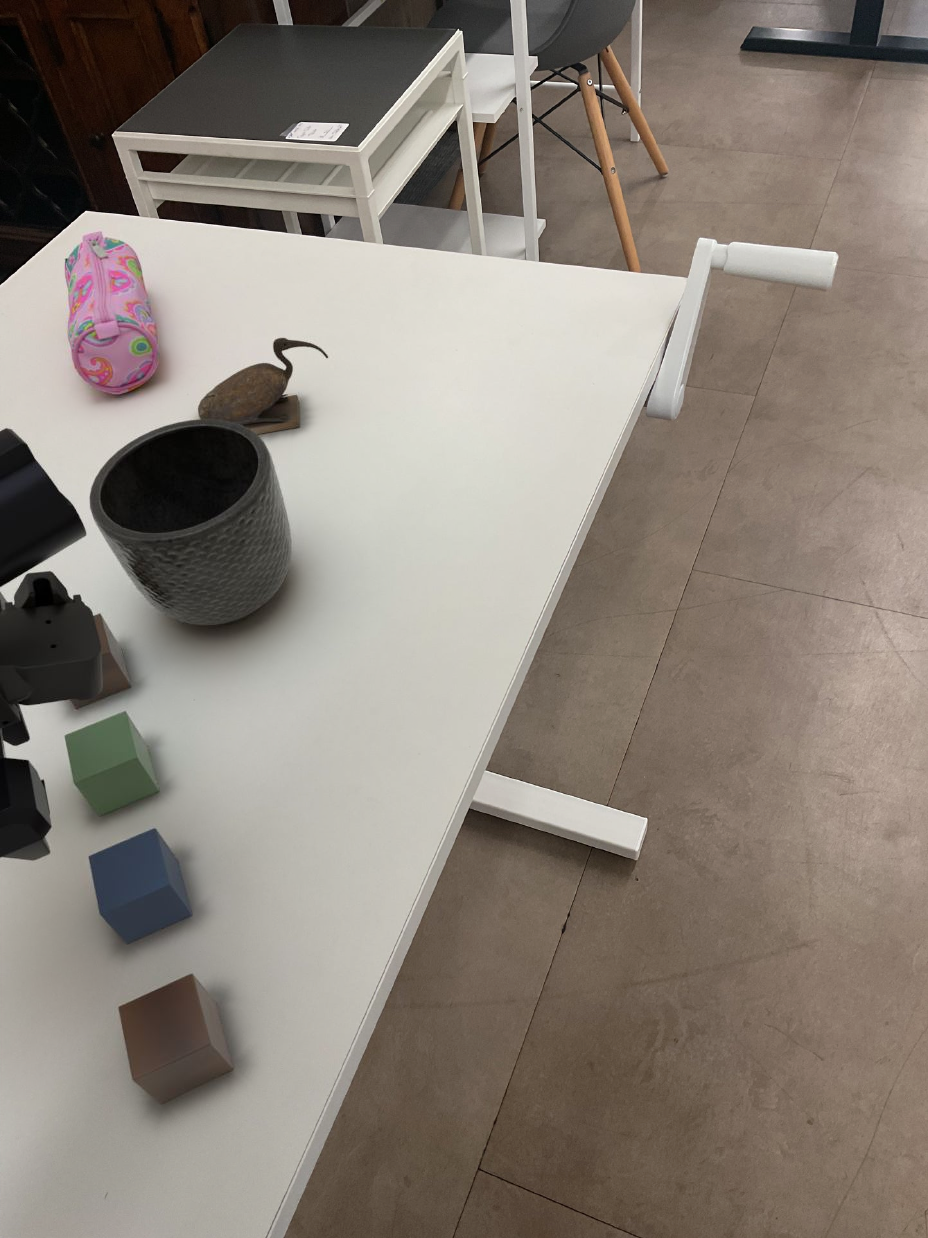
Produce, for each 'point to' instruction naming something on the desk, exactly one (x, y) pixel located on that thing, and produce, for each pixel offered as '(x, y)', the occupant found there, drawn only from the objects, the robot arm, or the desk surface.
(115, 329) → the pencil case
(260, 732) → the desk surface
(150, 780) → the green block
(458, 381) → the desk surface
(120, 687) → the far walnut block
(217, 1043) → the near walnut block
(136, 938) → the blue block
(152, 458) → the planter
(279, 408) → the figurine
